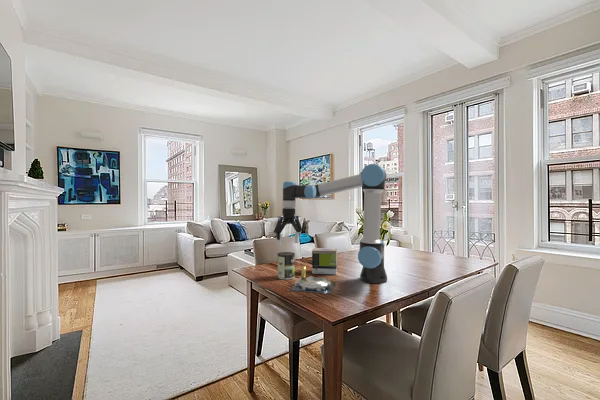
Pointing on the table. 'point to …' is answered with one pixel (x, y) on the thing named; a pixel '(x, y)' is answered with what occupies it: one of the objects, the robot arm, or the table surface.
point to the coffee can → (286, 265)
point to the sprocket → (313, 282)
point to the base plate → (324, 291)
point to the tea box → (324, 261)
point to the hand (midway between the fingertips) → (288, 244)
